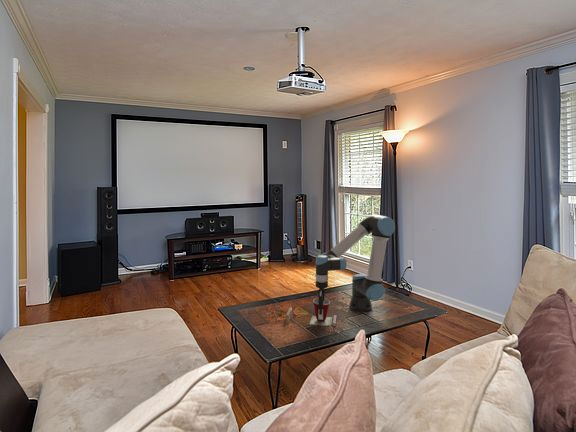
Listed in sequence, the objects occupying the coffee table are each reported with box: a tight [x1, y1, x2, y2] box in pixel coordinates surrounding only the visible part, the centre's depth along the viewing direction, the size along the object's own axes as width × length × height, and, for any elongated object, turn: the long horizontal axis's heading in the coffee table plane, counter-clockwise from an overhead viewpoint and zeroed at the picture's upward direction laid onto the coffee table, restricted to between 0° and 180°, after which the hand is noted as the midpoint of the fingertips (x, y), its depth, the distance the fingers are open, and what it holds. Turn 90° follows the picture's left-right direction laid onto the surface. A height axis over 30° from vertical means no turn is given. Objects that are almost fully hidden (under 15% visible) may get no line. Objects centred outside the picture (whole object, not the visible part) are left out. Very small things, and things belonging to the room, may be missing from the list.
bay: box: [285, 307, 337, 327], centre depth 236 cm, size 30×13×5 cm, turn 80°
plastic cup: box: [312, 297, 331, 321], centre depth 234 cm, size 11×11×12 cm
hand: (321, 316), depth 235 cm, fingers closed on plastic cup, 9 cm apart
